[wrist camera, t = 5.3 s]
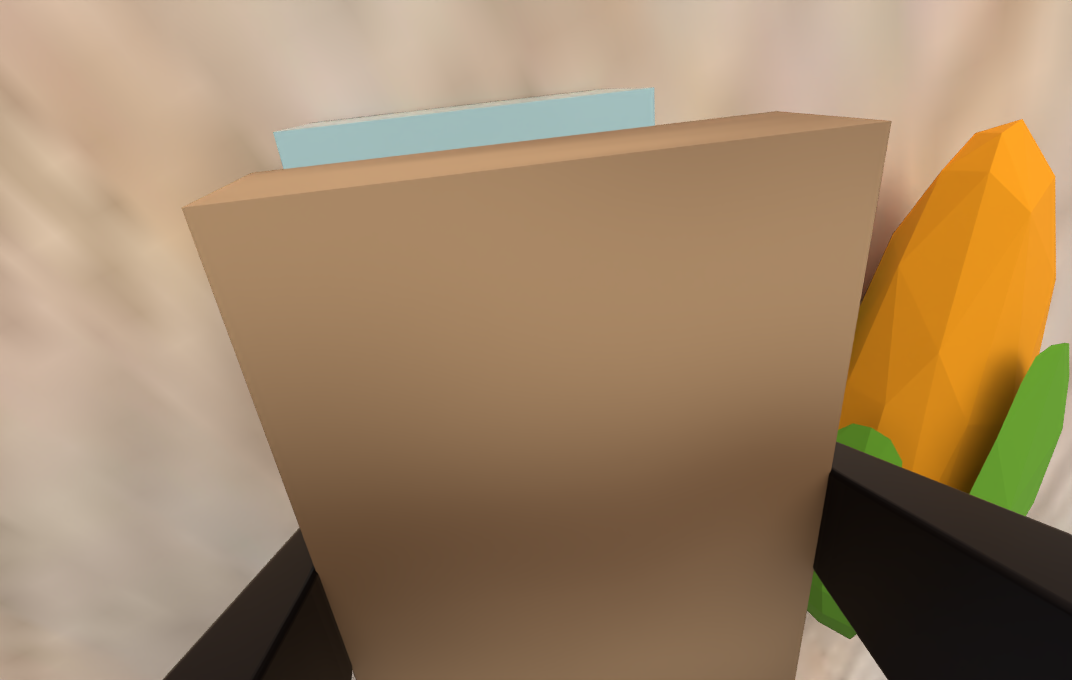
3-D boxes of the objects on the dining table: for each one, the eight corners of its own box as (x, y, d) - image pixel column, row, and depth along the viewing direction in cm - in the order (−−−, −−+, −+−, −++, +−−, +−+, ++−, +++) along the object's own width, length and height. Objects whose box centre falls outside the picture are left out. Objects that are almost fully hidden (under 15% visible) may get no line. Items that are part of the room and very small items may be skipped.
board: (730, 631, 11) (785, 733, 10) (414, 702, 11) (410, 826, 9) (776, 111, 7) (890, 121, 5) (251, 173, 6) (181, 208, 5)
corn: (829, 730, 20) (1049, 124, 12) (716, 567, 26) (805, 113, 18) (994, 684, 21) (1286, 126, 13) (848, 542, 28) (982, 115, 20)
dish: (614, 365, 21) (658, 430, 17) (385, 405, 20) (373, 485, 16) (600, 89, 17) (654, 87, 13) (313, 122, 16) (273, 132, 12)
